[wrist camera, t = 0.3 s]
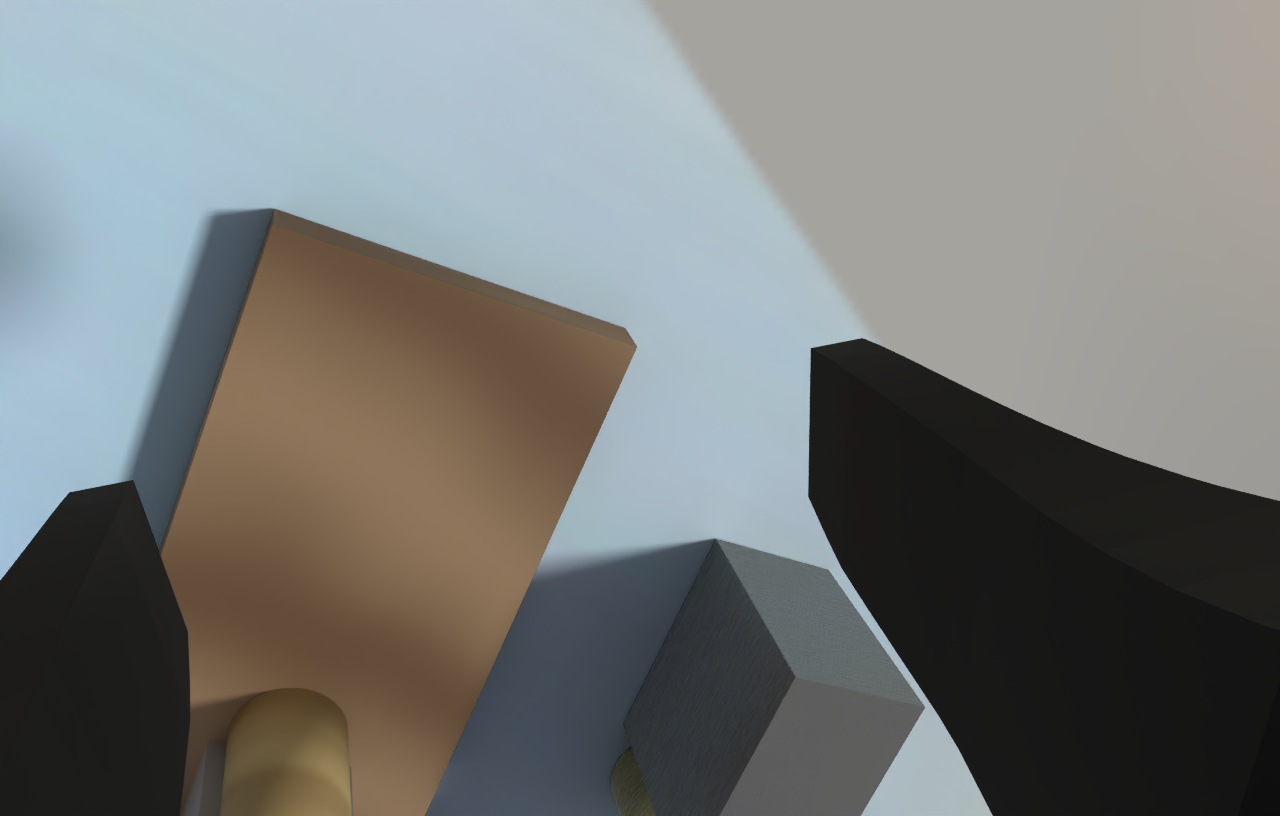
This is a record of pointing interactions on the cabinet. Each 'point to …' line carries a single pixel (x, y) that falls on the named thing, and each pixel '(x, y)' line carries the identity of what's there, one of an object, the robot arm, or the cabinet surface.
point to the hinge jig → (368, 518)
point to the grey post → (764, 699)
